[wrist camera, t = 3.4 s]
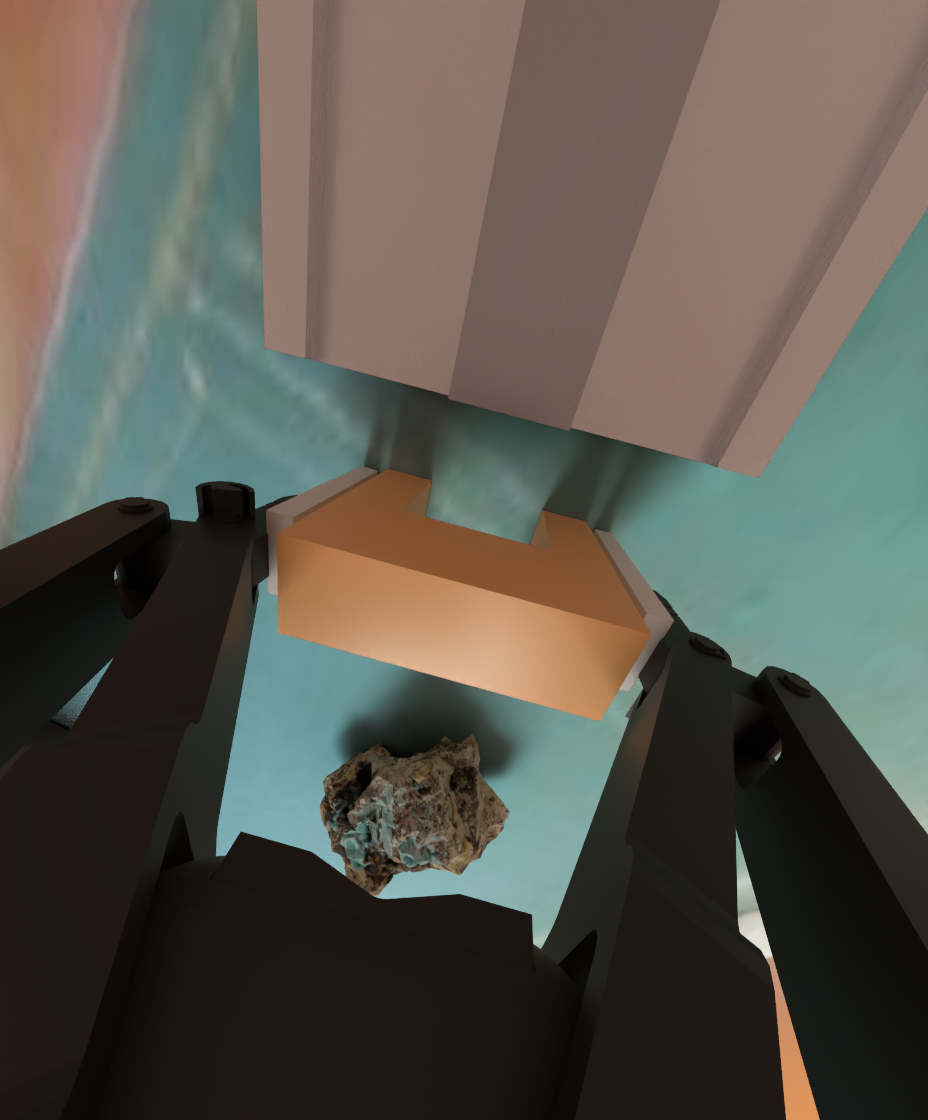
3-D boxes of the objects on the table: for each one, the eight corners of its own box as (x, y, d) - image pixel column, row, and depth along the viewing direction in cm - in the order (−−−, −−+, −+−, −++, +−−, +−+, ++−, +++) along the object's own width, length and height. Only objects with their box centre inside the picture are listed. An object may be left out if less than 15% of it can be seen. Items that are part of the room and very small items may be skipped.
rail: (290, 353, 14) (224, 340, 11) (298, -863, 6) (44, -2344, 3) (732, 469, 14) (799, 491, 10) (1373, -634, 6) (2491, -1970, 2)
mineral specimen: (452, 701, 20) (358, 862, 14) (539, 806, 21) (488, 990, 16) (351, 713, 28) (263, 818, 22) (420, 789, 29) (356, 906, 24)
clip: (380, 530, 17) (278, 632, 9) (388, 468, 15) (276, 533, 8) (562, 579, 16) (599, 721, 9) (586, 521, 15) (652, 634, 8)
